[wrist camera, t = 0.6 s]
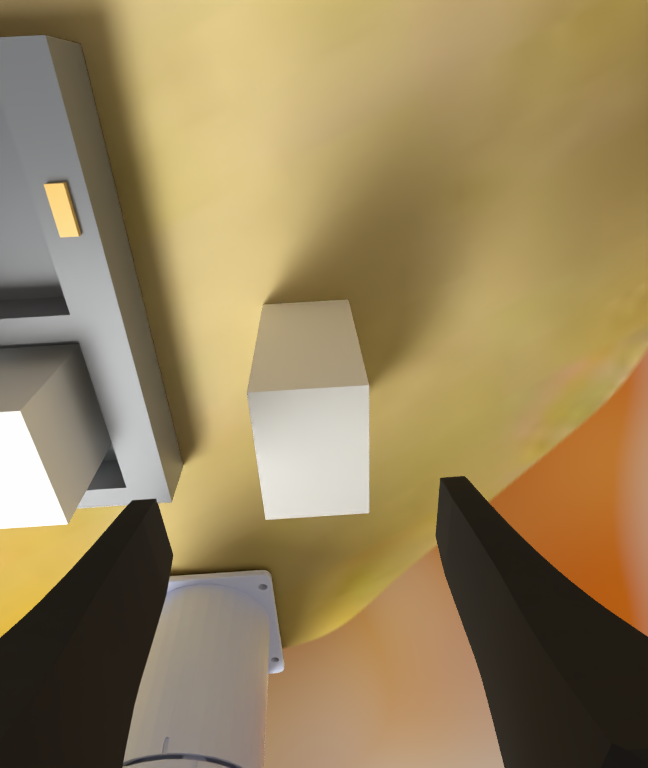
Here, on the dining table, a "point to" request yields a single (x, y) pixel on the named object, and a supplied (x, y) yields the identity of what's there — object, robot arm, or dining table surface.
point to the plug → (310, 411)
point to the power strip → (70, 307)
